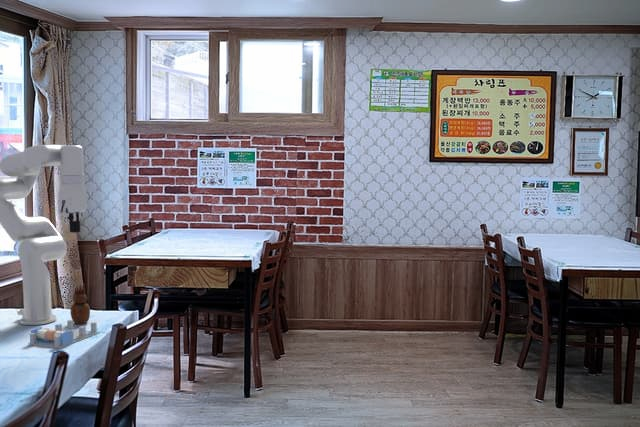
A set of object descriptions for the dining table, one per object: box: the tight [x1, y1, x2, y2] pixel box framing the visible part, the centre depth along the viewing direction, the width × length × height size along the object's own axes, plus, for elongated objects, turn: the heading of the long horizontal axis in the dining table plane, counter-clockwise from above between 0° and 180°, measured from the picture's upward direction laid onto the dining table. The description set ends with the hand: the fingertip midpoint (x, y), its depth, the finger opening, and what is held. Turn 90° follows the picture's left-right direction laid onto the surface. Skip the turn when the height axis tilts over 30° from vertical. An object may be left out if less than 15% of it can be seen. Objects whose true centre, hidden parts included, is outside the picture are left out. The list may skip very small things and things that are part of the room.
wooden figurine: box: [70, 283, 91, 325], centre depth 242 cm, size 7×6×15 cm
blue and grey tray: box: [28, 319, 100, 349], centre depth 221 cm, size 13×19×5 cm
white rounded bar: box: [36, 328, 63, 341], centre depth 216 cm, size 11×4×4 cm, turn 70°
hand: (75, 232), depth 231 cm, fingers closed
